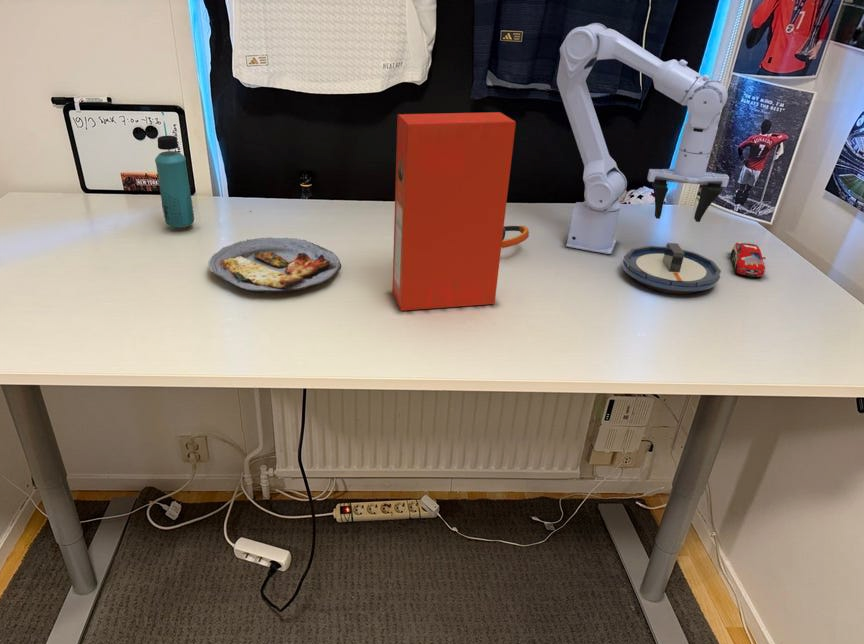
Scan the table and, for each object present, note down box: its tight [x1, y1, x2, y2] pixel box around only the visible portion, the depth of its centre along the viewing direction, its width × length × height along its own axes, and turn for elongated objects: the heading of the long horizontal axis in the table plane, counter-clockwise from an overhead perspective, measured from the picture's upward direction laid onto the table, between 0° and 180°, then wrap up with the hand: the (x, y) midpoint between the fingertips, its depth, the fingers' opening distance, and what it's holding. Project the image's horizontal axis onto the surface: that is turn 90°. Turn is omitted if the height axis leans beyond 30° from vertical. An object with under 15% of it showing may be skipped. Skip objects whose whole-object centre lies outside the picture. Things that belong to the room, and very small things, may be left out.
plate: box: [621, 242, 722, 292], centre depth 132 cm, size 18×18×5 cm
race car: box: [730, 241, 767, 278], centre depth 139 cm, size 13×5×4 cm, turn 161°
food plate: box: [208, 236, 342, 293], centre depth 132 cm, size 25×23×4 cm
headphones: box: [501, 225, 530, 249], centre depth 145 cm, size 17×5×20 cm
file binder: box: [391, 111, 517, 312], centre depth 116 cm, size 8×17×32 cm, turn 101°
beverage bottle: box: [154, 135, 196, 228], centre depth 146 cm, size 6×7×20 cm
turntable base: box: [635, 279, 698, 295], centre depth 134 cm, size 13×13×2 cm
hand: (676, 218), depth 137 cm, fingers open, 7 cm apart
